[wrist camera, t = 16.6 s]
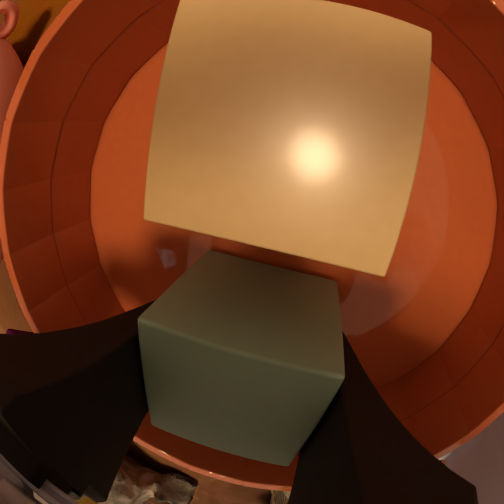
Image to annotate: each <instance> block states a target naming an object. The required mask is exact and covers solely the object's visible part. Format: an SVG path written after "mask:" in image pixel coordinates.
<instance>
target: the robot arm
mask: <svg viewBox="0 0 504 504" xmlns="http://www.w3.org/2000/svg"><path fill="white" fill-rule="evenodd" d="M156 300H157V299H156ZM156 300H153V301H151V302H149V303H146V304H144V305H142V306H139V307H137V308H135V309H132V310H129V311H127V312H124V313H121V314H119V315H116V316H113V317H110V318H108V319H105V320H101V321H98V322H95V323H91V324H87V325H83V326H79V327H75V328H70V329H64V330H58V331H51V332H44V333H33V334H0V504H42V503H41V502H39V501H38V500H36V499H35V498H34V495H33V491H34V492H35V493H37V494H38V495H39V496H40V497H41V498H43V499H44V500H45V501H46V502H48V503H49V504H80V503H78V502H77V501H75V500H74V499H73V498H71V497H70V496H68V495H69V493H70V492H71V491H72V492H73V493H75V494H76V495H77V496H79V497H82V496H83V494H84V495H85V496H87V497H88V498H90V499H91V500H93V501H95V502H105V501H107V499H108V496H109V493H110V490H111V488H112V485H113V483H114V480H115V478H116V475H117V473H118V471H119V468H120V466H121V464H122V462H123V459H124V457H125V455H126V453H127V451H128V449H129V447H130V445H131V443H132V441H133V438H134V436H135V434H136V433H137V431H138V429H139V427H140V425H141V423H142V421H143V419H144V417H145V416H146V414H147V412H148V411H149V409H148V403H147V397H146V391H145V384H144V377H143V370H142V362H141V353H140V344H139V334H138V318H139V316H140V315H141V314H142V313H143V312H144V311H145V310H146V309H147V308H148V307H150V306H151V305H152V304H153V303H154V302H155V301H156ZM342 336H343V349H344V366H345V378H344V380H343V382H342V384H341V386H340V387H339V389H338V391H337V393H336V394H335V396H334V398H333V400H332V401H331V403H330V405H329V406H328V408H327V410H326V411H325V413H324V415H323V416H322V418H321V419H320V421H319V423H318V424H317V426H316V427H315V429H314V430H313V432H312V433H311V435H310V436H309V438H308V439H307V441H306V442H305V444H304V445H303V447H302V448H301V450H300V451H299V457H298V463H297V468H296V472H295V476H294V481H293V485H292V489H291V492H290V496H289V500H288V503H287V504H504V412H503V413H502V414H501V415H500V416H499V417H498V418H497V419H496V420H494V421H493V422H492V423H491V424H490V425H489V426H488V427H486V428H485V429H484V430H483V431H482V432H480V433H479V434H478V435H477V436H475V437H474V438H473V439H471V440H470V441H468V442H467V443H465V444H463V445H462V446H460V447H459V448H457V449H455V450H453V451H452V452H450V453H448V454H446V455H445V456H443V457H441V458H439V459H437V458H436V457H435V456H433V455H432V454H431V453H430V452H429V451H428V450H427V449H426V448H425V447H424V446H422V444H421V443H420V442H419V441H418V440H417V439H416V438H415V437H414V436H413V435H412V434H411V433H410V432H409V431H408V430H407V429H406V428H405V426H404V425H403V424H402V423H401V422H400V421H399V419H398V418H397V417H396V416H395V414H394V413H393V412H392V411H391V409H390V408H389V407H388V405H387V404H386V403H385V401H384V400H383V398H382V397H381V395H380V394H379V392H378V391H377V389H376V388H375V386H374V385H373V383H372V382H371V380H370V379H369V377H368V375H367V374H366V372H365V370H364V369H363V367H362V365H361V363H360V362H359V360H358V358H357V356H356V354H355V352H354V351H353V349H352V347H351V345H350V343H349V341H348V339H347V338H346V336H345V334H344V332H343V331H342ZM443 459H444V460H445V465H446V466H445V465H444V464H443V463H442V462H441V461H439V460H443Z"/></svg>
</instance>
